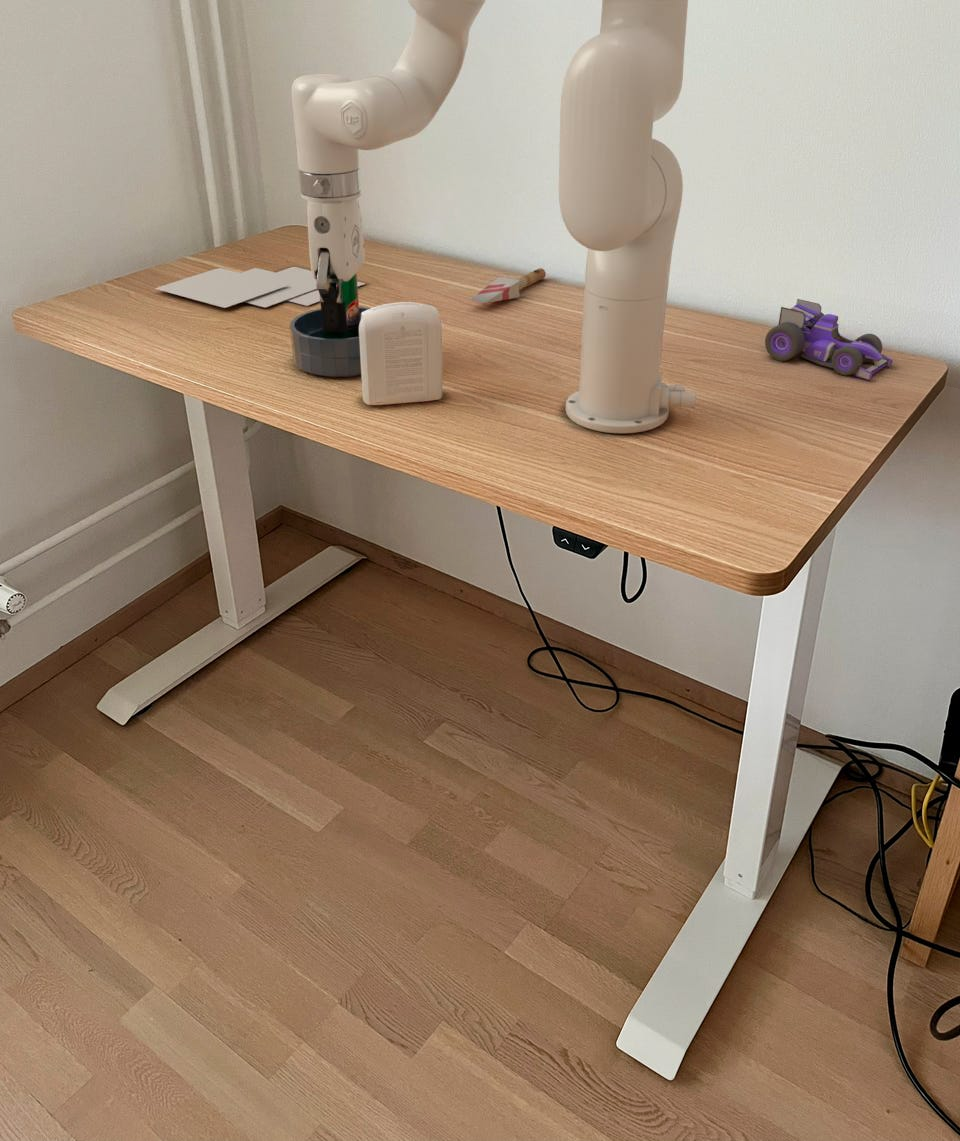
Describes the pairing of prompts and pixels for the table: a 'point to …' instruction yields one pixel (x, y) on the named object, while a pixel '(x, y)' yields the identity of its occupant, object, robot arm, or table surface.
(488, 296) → the paintbrush
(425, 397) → the photo printer
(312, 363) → the bowl
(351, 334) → the soda can
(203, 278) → the paper stack
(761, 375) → the table surface
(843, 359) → the toy race car
